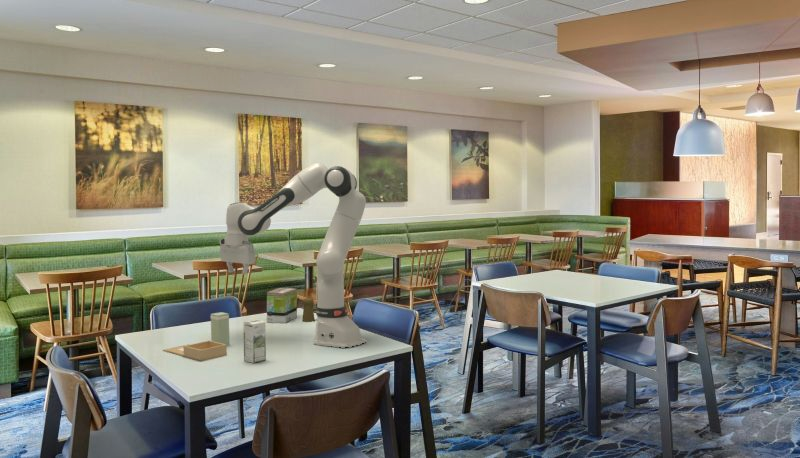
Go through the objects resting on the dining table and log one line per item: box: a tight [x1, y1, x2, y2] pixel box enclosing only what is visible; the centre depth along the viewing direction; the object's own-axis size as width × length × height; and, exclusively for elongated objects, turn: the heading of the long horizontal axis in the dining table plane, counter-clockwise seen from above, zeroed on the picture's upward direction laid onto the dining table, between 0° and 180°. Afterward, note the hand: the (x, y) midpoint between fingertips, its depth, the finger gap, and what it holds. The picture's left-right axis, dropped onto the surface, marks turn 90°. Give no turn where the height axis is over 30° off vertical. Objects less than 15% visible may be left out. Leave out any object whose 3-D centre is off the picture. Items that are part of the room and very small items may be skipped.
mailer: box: [162, 340, 228, 362], centre depth 238 cm, size 26×11×4 cm, turn 51°
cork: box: [301, 297, 315, 323], centre depth 297 cm, size 6×6×11 cm
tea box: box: [266, 287, 298, 324], centre depth 300 cm, size 15×10×15 cm, turn 168°
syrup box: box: [243, 319, 267, 364], centre depth 225 cm, size 6×6×14 cm
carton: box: [210, 311, 230, 347], centre depth 249 cm, size 5×5×13 cm
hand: (237, 273), depth 261 cm, fingers open, 8 cm apart
